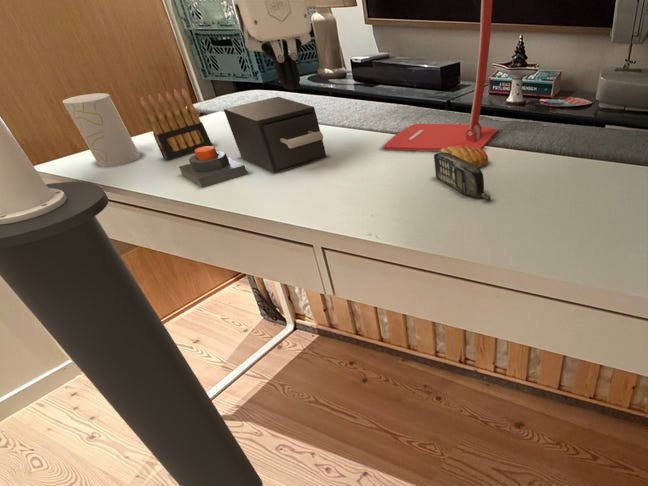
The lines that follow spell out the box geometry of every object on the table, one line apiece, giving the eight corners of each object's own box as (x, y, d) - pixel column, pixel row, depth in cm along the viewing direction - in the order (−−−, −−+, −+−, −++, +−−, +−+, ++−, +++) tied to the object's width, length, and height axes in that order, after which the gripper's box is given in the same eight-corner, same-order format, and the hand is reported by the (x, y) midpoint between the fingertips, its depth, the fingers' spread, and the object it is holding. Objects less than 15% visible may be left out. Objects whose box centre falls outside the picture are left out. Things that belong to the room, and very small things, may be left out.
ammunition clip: (208, 144, 106) (184, 86, 98) (212, 146, 106) (188, 86, 98) (163, 159, 100) (133, 97, 92) (168, 160, 99) (138, 98, 91)
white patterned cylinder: (89, 164, 99) (52, 102, 91) (120, 152, 105) (88, 92, 97) (118, 167, 97) (84, 104, 89) (148, 154, 103) (118, 93, 95)
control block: (202, 187, 87) (194, 168, 84) (182, 175, 92) (174, 157, 90) (247, 173, 91) (241, 155, 89) (226, 162, 97) (219, 145, 94)
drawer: (337, 158, 93) (327, 117, 88) (289, 174, 88) (275, 130, 83) (293, 142, 103) (282, 103, 98) (247, 155, 97) (232, 114, 92)
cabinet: (326, 157, 97) (314, 106, 91) (274, 173, 91) (256, 120, 84) (292, 143, 105) (278, 96, 99) (241, 158, 99) (223, 108, 92)
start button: (202, 162, 88) (198, 153, 87) (195, 158, 90) (191, 149, 88) (221, 157, 90) (217, 148, 88) (213, 153, 92) (209, 144, 90)
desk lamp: (373, 123, 115) (333, -103, 88) (523, 131, 106) (530, -119, 79) (336, 146, 102) (277, -110, 75) (502, 158, 93) (502, -129, 66)
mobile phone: (430, 152, 83) (478, 173, 73) (444, 148, 84) (493, 168, 74) (433, 180, 86) (479, 203, 76) (447, 176, 87) (494, 198, 78)
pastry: (480, 157, 94) (480, 137, 91) (493, 167, 89) (493, 147, 87) (437, 164, 91) (435, 144, 89) (448, 176, 87) (447, 155, 84)
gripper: (210, -58, 60) (260, 100, 72) (312, -61, 67) (341, 82, 80) (188, -56, 64) (240, 94, 76) (287, -59, 71) (319, 77, 84)
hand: (292, 88), depth 78 cm, fingers closed
